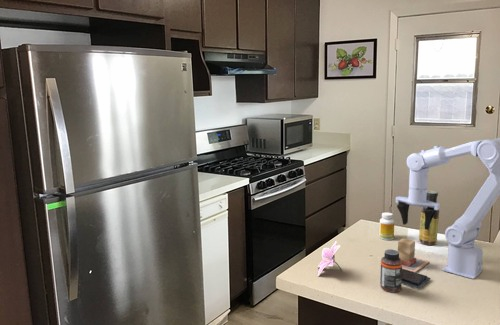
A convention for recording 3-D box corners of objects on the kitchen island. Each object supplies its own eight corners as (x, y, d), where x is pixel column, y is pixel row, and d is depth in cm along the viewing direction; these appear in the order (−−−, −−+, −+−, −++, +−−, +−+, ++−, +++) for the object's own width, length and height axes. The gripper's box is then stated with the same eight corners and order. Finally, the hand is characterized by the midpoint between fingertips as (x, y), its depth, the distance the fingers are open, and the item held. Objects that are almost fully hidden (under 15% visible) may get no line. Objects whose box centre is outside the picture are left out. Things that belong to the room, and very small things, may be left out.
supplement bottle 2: (384, 281, 132) (386, 246, 130) (404, 287, 128) (406, 250, 126) (376, 288, 127) (377, 252, 125) (396, 294, 123) (398, 257, 121)
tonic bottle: (415, 241, 164) (417, 190, 160) (428, 239, 166) (431, 188, 162) (426, 247, 158) (429, 194, 154) (441, 245, 160) (444, 192, 156)
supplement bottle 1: (395, 240, 165) (396, 215, 163) (381, 240, 165) (382, 216, 164) (391, 235, 170) (392, 211, 169) (377, 235, 171) (378, 211, 169)
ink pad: (430, 280, 132) (430, 276, 131) (419, 289, 126) (419, 285, 126) (399, 271, 139) (399, 266, 138) (387, 279, 133) (387, 275, 133)
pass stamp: (416, 262, 144) (417, 240, 143) (409, 267, 141) (410, 245, 139) (401, 258, 148) (402, 237, 146) (395, 262, 144) (396, 241, 143)
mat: (428, 262, 144) (429, 261, 144) (414, 273, 137) (414, 272, 136) (397, 254, 152) (397, 252, 152) (382, 264, 144) (382, 262, 144)
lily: (326, 263, 148) (313, 241, 146) (357, 256, 142) (344, 233, 139) (317, 288, 139) (303, 265, 136) (350, 282, 132) (336, 257, 130)
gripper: (444, 188, 145) (441, 227, 147) (402, 182, 155) (400, 219, 157) (436, 192, 140) (433, 233, 142) (393, 186, 150) (391, 223, 152)
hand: (415, 226), depth 149 cm, fingers open, 7 cm apart
